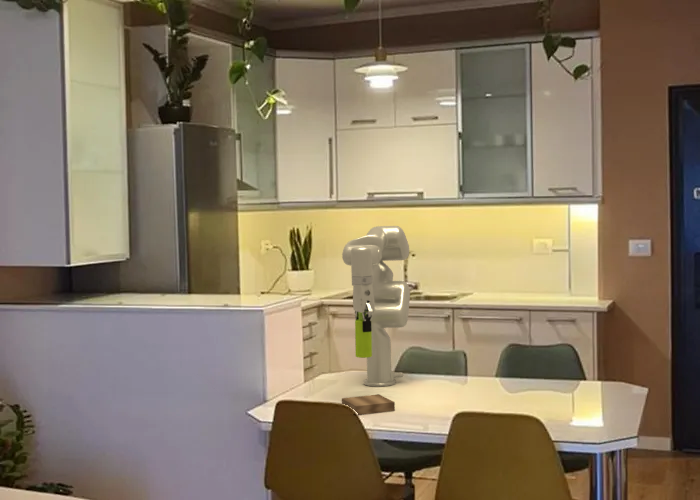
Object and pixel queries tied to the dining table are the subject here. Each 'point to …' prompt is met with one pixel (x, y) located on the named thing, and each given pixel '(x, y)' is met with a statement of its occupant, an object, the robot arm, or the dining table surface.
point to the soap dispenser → (362, 339)
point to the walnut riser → (369, 404)
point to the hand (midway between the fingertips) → (363, 330)
